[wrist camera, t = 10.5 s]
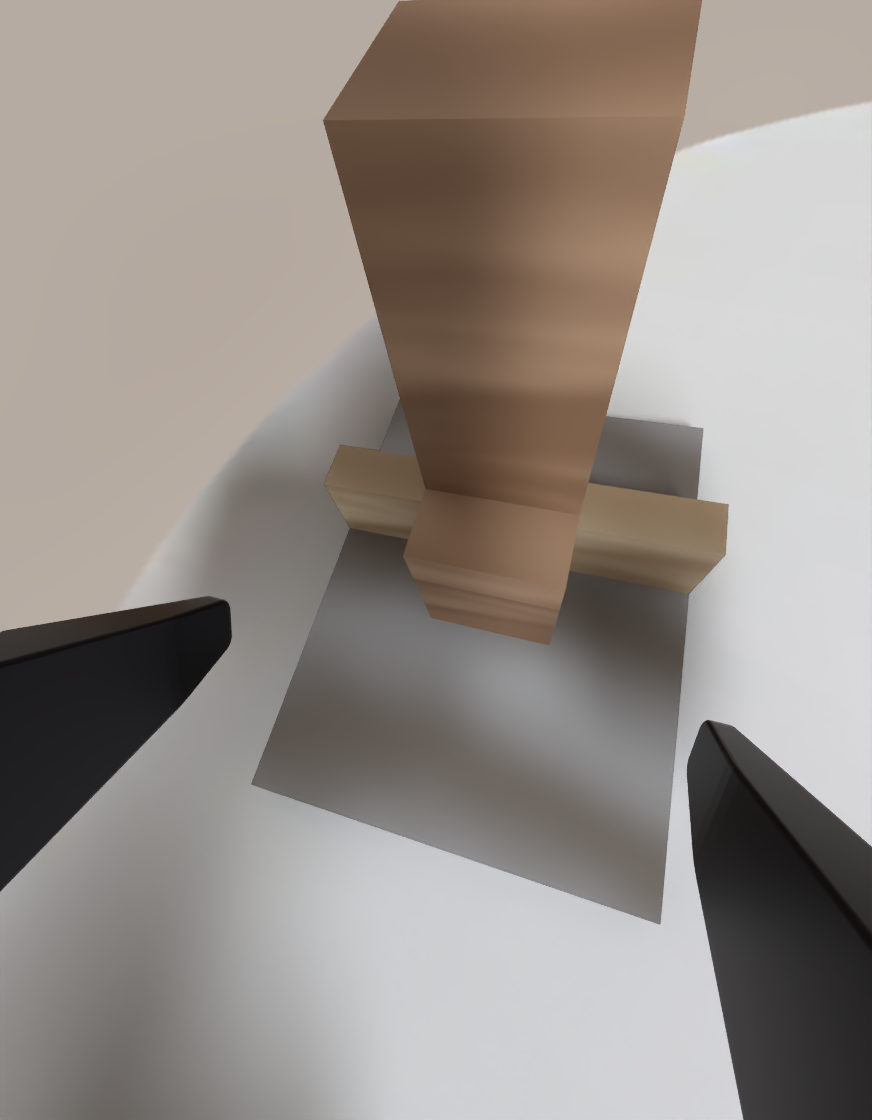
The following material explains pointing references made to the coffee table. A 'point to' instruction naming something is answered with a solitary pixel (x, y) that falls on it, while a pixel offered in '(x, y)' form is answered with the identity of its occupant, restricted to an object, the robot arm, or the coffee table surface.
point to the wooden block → (508, 264)
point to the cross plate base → (509, 679)
